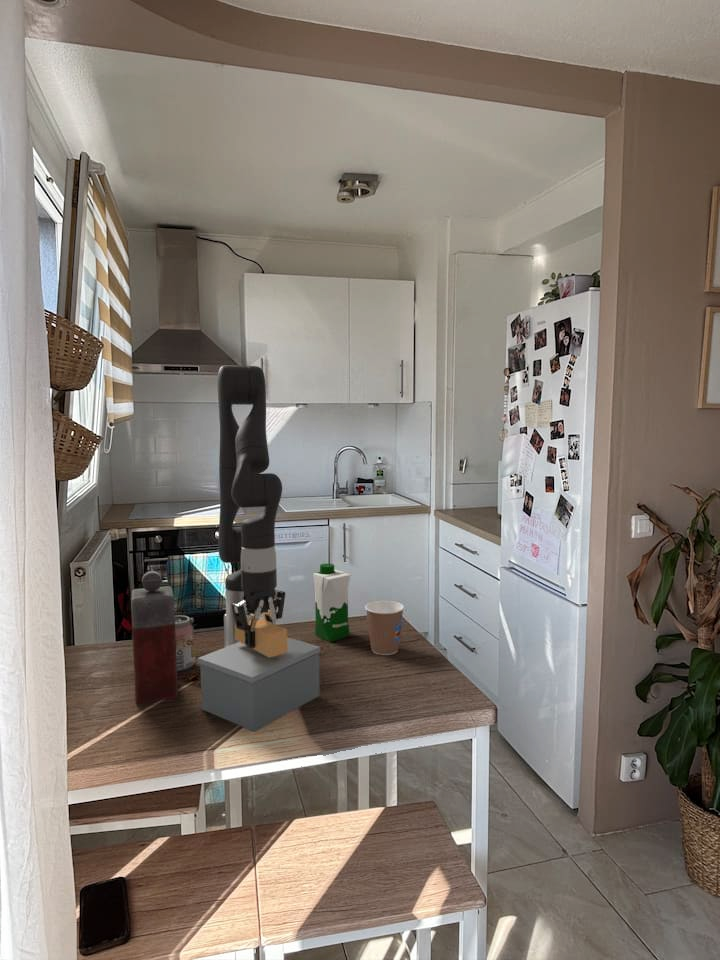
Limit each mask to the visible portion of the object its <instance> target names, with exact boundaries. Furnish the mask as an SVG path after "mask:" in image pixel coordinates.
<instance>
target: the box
mask: <svg viewBox="0 0 720 960" xmlns="http://www.w3.org/2000/svg"><path fill="white" fill-rule="evenodd" d="M199 667H200V668H199V669H200V692H201V693H200V695H201V710H202V711H205V712H207V713H210V714H211V715H214V716H217V717H219V718H222V719H223V720H226V721H228V722H230V723H233V724H235V725H238V726H240V727H242V728H245V729H247V730H249V731H252V732H256V731H257V730H259V729H261V728H263V727H264V726H267V725H269V724H270V723H272V722H274V721H276V720H278V719H279V718H282V717H283V716H285V715H287V714H289V713H291V712H293V711H294V710H297V709H298V708H300V707H302V706H303V705H305V704H307V703H309V702H311V701H313V700H315V699H316V698H319V697H320V652H319V653H316V654H314V655H312V656H310V657H308V658H306V659H304V660H301V661H299V662H297V663H295V664H293V665H291V666H288V667H286V668H284V669H282V670H280V671H278V672H276V673H273V674H271V675H269V676H267V677H265V678H263V679H260V680H258V681H256V682H254V683H251V682H248V681H245V680H242V679H240V678H237V677H234V676H231V675H229V674H226V673H223V672H220V671H218V670H215V669H212V668H209V667H207V666H204V665H201V664H199Z"/></svg>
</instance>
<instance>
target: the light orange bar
mask: <svg viewBox="0 0 720 960" xmlns="http://www.w3.org/2000/svg"><path fill="white" fill-rule="evenodd" d="M250 615H251V616H254V614H250ZM250 624H251V620H250V623H249V625H250ZM254 631H255V647H254V648H252V649H254V650H256V651H258V652H259V653H261V654H263V655H265V656H267V657H269V658H270V657H274V656H277V655H280V654H284V653H287V652H288V651H287V637H288V629H287V628H285V627H283V626H281V625H279V624H276V623H275V624H274V623H272V622H270V621H267V620H265V618H264V617H262V618H261V617H259V620H258V621H257V622H256V626H255V630H254ZM235 640H237V641H239V642H241V643H243V644H244V645H246V644H245V631H243V630H240V629H237V627H236V623H235Z"/></svg>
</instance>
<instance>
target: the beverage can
mask: <svg viewBox="0 0 720 960" xmlns="http://www.w3.org/2000/svg"><path fill="white" fill-rule="evenodd" d="M194 621H195V620H194V617H189V616H187V615H179V614H178V615H175V635H176V661H177V672H182V671H187V670H188V669H190V668H192V666H194V664H195V661H196V660H195V658H196V657H195V635H194V634H195V633H194V631H195V630H194V626H193V623H194Z"/></svg>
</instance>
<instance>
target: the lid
mask: <svg viewBox="0 0 720 960" xmlns="http://www.w3.org/2000/svg"><path fill="white" fill-rule="evenodd" d="M287 651H288V652H287V653H284V654H280V655H277V656H274V657H270V658H269V657H267V656H265V655H263V654H261V653H259V652H258V651H256V650H254V649H252V648H249V647H247V646H246V645H244V644H243V643H241V642H238V643H235V644H233V645H230V646H228V647H225V646H224V647H223V648H221V649H218V650H214V651H212V652H210V653H207V654H205V655H202V656H199V657H198V658H197V663H198V664H199V665H200V664H201V665H204V666H207V667H209V668H212V669H215V670H218V671H220V672H223V673H226V674H229V675H231V676H234V677H237V678H240V679H242V680H245V681H248V682H251V683H254V682H256V681H258V680H260V679H263V678H265V677H267V676H269V675H271V674H273V673H276V672H278V671H280V670H282V669H284V668H286V667H288V666H291V665H293V664H295V663H297V662H299V661H301V660H304V659H306V658H308V657H310V656H312V655H314V654H316V653H319V654H320V652H321V646H320V645H315V644H312V643H308V642H305V641H302V640H298V639H295V638H291V637H288V636H287Z"/></svg>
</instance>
